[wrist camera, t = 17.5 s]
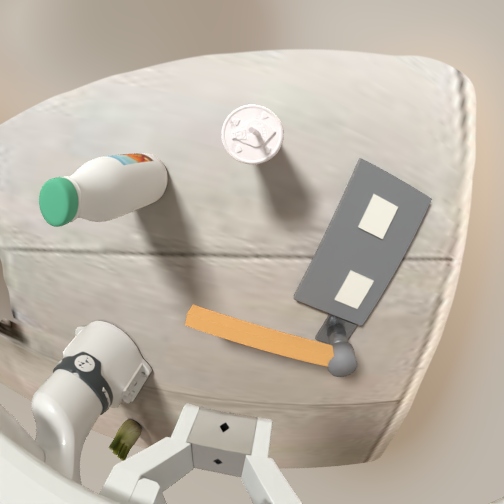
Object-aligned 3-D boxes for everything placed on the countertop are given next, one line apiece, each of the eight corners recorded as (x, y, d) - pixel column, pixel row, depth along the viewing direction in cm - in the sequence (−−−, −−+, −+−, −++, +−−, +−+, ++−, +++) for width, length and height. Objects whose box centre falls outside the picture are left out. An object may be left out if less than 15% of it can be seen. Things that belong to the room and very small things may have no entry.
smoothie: (287, 160, 37) (285, 163, 24) (239, 164, 38) (212, 169, 25) (283, 114, 35) (278, 92, 22) (235, 118, 36) (206, 100, 23)
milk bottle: (178, 169, 39) (92, 188, 21) (154, 213, 42) (67, 259, 23) (139, 143, 39) (41, 148, 20) (117, 187, 41) (22, 216, 23)
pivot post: (341, 346, 45) (345, 367, 40) (315, 337, 45) (316, 358, 40) (356, 323, 44) (362, 343, 38) (329, 313, 44) (333, 333, 38)
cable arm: (358, 344, 38) (362, 358, 35) (346, 364, 40) (349, 379, 37) (194, 297, 39) (187, 309, 36) (189, 320, 40) (182, 333, 37)
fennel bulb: (124, 414, 61) (105, 447, 50) (141, 420, 61) (123, 454, 49) (129, 426, 63) (111, 458, 52) (145, 432, 63) (128, 464, 51)
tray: (360, 322, 43) (362, 327, 42) (293, 295, 43) (293, 300, 42) (428, 197, 36) (432, 199, 34) (359, 158, 36) (361, 158, 34)
